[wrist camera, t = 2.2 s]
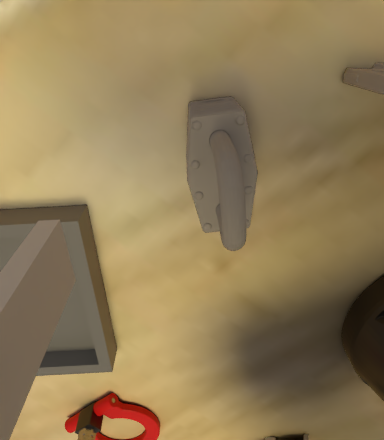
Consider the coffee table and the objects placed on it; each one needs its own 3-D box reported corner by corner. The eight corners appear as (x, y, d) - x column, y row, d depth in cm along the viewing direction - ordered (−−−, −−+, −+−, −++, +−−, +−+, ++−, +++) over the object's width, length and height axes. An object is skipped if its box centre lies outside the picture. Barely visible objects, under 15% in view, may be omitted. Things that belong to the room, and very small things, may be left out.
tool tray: (87, 205, 25) (78, 221, 23) (117, 348, 32) (112, 371, 30) (-90, 214, 25) (-116, 231, 23) (-22, 356, 32) (-37, 379, 30)
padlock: (246, 195, 25) (280, 279, 17) (192, 201, 26) (197, 288, 17) (242, 94, 22) (282, 133, 13) (179, 102, 22) (178, 145, 13)
